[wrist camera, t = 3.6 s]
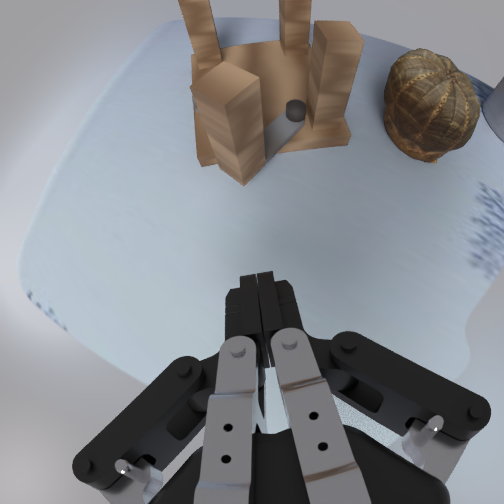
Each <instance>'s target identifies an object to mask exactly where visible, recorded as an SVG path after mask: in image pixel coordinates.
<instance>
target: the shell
mask: <svg viewBox="0 0 504 504" xmlns="http://www.w3.org/2000/svg"><path fill="white" fill-rule="evenodd" d="M384 101H385V104H386V107H385V113H384V123H385V127H386V130H387V133H388V135H389V136H390V138H391V139H392V140H393V142H394V143H395V144H396V146H397V147H398V148H399V149H400V150H401V151H403V152H404V153H405V154H407V155H408V156H410V157H411V158H413V159H417V160H421V161H424V162H428V163H436V162H437V159H438V158H440V157H442V156H443V155H444V154H445V153H447V152H448V151H451V150H455V149H459V148H461V147H463V146H464V145H465V144H466V143H467V142H468V140H469V139H470V138H471V136H472V134H473V132H474V129H475V127H476V124H477V121H478V119H479V116H480V105H479V101H478V99H477V97H476V94H475V90H474V87H473V85H472V82H471V80H470V79H469V77H468V76H467V75H466V74H464V73H462V72H461V71H459V70H458V69H457V67H456V66H455V65H454V63H453V62H452V61H451V60H450V59H449V58H448V57H445V56H442V55H438V54H434V53H433V52H431V51H429V50H426V49H420V48H419V49H416V50H412V51H409V52H407V53H406V54H404V55H402V56H401V57H399V59H398V60H397V61H396V62H395V63H394V64H393V66H392V67H391V70H390V73H389V76H388V80H387V83H386V87H385V90H384Z"/></svg>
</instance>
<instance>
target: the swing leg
mask: <svg viewBox="0 0 504 504" xmlns="http://www.w3.org/2000/svg"><path fill="white" fill-rule="evenodd" d="M190 89H191V92H192V94H193V97H194V100H195V103H196V105H197V108H198V111H199V113H200V116H201V119H202V122H203V124H204V127H205V130H206V132H207V135H208V138H209V140H210V143H211V146H212V149H213V151H214V154H215V157H216V159H217V162H218V165H219V168H220V169H221V170H223V171H224V172H225V173H227V174H228V175H229V176H231V177H232V178H233V179H235V180H236V181H237V182H239V183H240V184H241V185H243V186H245V185H246V184H247V183H248V182H249V181H250V180H251V179H252V178H253V177H254V176H255V175H256V174H257V173H258V172H259V171H260V170H261V168H262V167H263V166H264V165H265V164H266V163H267V162H268V161H269V160H270V159H271V158H272V157H273V156H274V155H275V154H276V153H277V152H278V151H279V150H280V149H281V148H282V147H283V146H284V145H285V144H286V143H287V142H288V141H289V140H290V139H291V138H292V137H293V136H294V135H295V134H296V133H297V132H298V131H299V130H300V129H301V128H302V127H304V126H305V115H306V104H305V103H304V102H303V101H301V100H297V99H293V100H290V101H288V102H287V104H286V110H285V111H284V112H283V113H282V114H281V115H279V116H278V117H277V118H276V119H275V120H274V121H273V122H272V123H271V124H270V125H268V126H267V127H266V128H265V129H264V130H263V117H262V104H261V92H260V79H259V77H258V76H256V75H253V74H251V73H249V72H247V71H245V70H243V69H241V68H239V67H236V66H234V65H232V64H230V63H227V62H225V61H223V62H222V63H220V64H219V65H217V66H216V67H215V68H213V69H212V70H211V71H209V72H208V73H207V74H205V75H204V76H203V77H201V78H200V79H199V80H197V81H196V82H195V83H194V84H192V85H191V86H190Z"/></svg>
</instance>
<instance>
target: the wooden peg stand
mask: <svg viewBox="0 0 504 504" xmlns="http://www.w3.org/2000/svg"><path fill="white" fill-rule="evenodd" d="M178 2H179V5H180V8H181V11H182V15H183V18H184V21H185V24H186V28H187V31H188V34H189V37H190V40H191V44H192V47H193V50H194V53H195V54H192V55H191V63H192V84H194V83H195V82H196V81H197V80H199V79H200V78H201V77H203V76H204V75H205V74H207V73H208V72H209V71H211V70H212V69H213V68H215V67H216V66H217V65H219V64H220V63H222V62H223V61H225V62H227V63H230V64H232V65H234V66H236V67H239V68H241V69H243V70H245V71H247V72H249V73H251V74H253V75H256V76H258V77H259V79H260V92H261V104H262V117H263V130H264V129H265V128H266V127H267V126H268V125H270V124H271V123H272V122H273V121H274V120H275V119H276V118H277V117H278V116H279V115H281V114H282V113H283V112H284V111H285V110H286V104H287V102H288V101H290V100H293V99H297V100H301V101H303V102H304V103H305V104H306V115H305V126H304V127H302V128H301V129H300V130H299V131H298V132H297V133H296V134H295V135H294V136H293V137H292V138H291V139H290V140H289V141H288V142H287V143H286V144H285V145H284V146H283V147H282V148H281V149H280V150H279V151H278V152H277V153H284V152H291V151H299V150H307V149H315V148H324V147H334V146H345V145H348V142H349V140H350V137H351V133H350V131H349V128H348V126H347V123H346V121H345V118H344V112H345V109H346V106H347V102H348V99H349V95H350V92H351V89H352V85H353V82H354V78H355V74H356V71H357V67H358V64H359V60H360V56H361V52H362V49H363V45H364V40H363V38H362V37H361V36H360V34H359V33H358V32H357V30H356V29H355V28H354V27H353V25H352V24H351V23H350V22H348V21H347V22H346V21H315V22H314V33H313V43H312V48H311V46H310V44H309V30H310V15H311V0H279V20H280V40H278V41H268V42H259V43H251V44H244V45H237V46H231V47H225V48H220V47H219V42H218V38H217V33H216V29H215V24H214V19H213V16H212V10H211V6H210V2H209V0H178ZM192 97H193V96H192ZM193 105H194V121H195V135H196V149H197V158H198V160H199V162H200V164H201V166H202V167H204V166H209V165H214V164H218V162H217V159H216V157H215V154H214V151H213V149H212V146H211V143H210V140H209V138H208V135H207V132H206V130H205V127H204V124H203V122H202V119H201V116H200V113H199V111H198V108H197V105H196V103H195V100H194V97H193ZM277 153H276V154H277Z"/></svg>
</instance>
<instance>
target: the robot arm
mask: <svg viewBox="0 0 504 504" xmlns="http://www.w3.org/2000/svg"><path fill="white" fill-rule="evenodd" d="M482 108H483V112H484V115H485V118H486V120H487V122H488V123H489V125H490V126H491V128H492V129H493V131H494V132H495V133H496V134H497V135H498V137H500V138H501V140H503V141H504V77H503V79H502V80H501V81H500V83H499V84H498V85H497V86H496V88H495V89H494V90H493V91H492V93H491V94H490V95H489V96H488V98H487V99H486V100H485V102H484V103H483V107H482ZM257 280H258V283H257ZM225 306H226V308H225V314H226V315H225V342H224V343H223V344H222V346H221V348H220V351H219V352H218V353H217V354H215V355H214V356H211V357H209V358H207V359H204V360H201V361H199V360H198V359H196V358H194V357H191V356H184V357H180V358H178V359H176V360H174V361H173V362H172V363H171V364H170V365H169V366H168V367H167V368H166V369H165V370H164V371H163V372H162V373H161V374H160V375H159V376H158V377H157V378H156V379H155V380H154V381H153V382H152V383H151V384H150V385H149V386H148V387H147V388H146V389H145V390H144V391H143V392H142V393H141V394H140V395H139V396H138V397H136V398H135V399H134V400H133V401H132V402H131V403H130V404H129V405H128V406H127V407H126V408H125V409H124V410H123V411H122V412H121V413H120V414H119V415H118V416H117V417H116V418H115V419H114V420H113V421H112V422H111V423H110V424H108V425H107V426H106V427H105V428H104V429H103V430H102V431H101V432H100V433H99V434H98V435H97V436H96V437H95V438H94V439H93V440H92V441H91V442H90V443H89V444H87V445H86V446H85V447H84V448H83V449H82V450H81V451H80V452H79V453H78V454H77V455H76V456H75V458H74V460H73V464H72V469H73V473H74V475H75V476H76V478H77V479H78V480H80V481H81V482H83V483H86V484H88V485H90V486H92V487H93V488H95V489H97V490H99V491H100V492H101V493H102V494H103V496H104V497H105V498H106V499H107V500H108V501H109V502H110V504H450V495H449V492H448V489H447V487H446V486H445V483H446V481H447V480H448V478H449V476H450V475H451V473H452V471H453V470H454V468H455V466H456V464H457V463H458V461H459V459H460V457H461V455H462V454H463V452H464V450H465V448H466V446H467V444H468V442H469V440H470V439H471V438H472V437H473V436H475V435H476V434H477V433H478V432H479V431H480V430H482V428H484V427H485V426H486V425H487V424H488V422H489V420H490V417H491V408H490V405H489V403H488V401H487V400H486V399H485V398H484V397H482V396H480V395H478V394H476V393H474V392H472V391H470V390H468V389H466V388H464V387H462V386H459V385H457V384H456V383H454V382H452V381H450V380H448V379H446V378H444V377H442V376H440V375H438V374H436V373H434V372H432V371H430V370H428V369H426V368H424V367H422V366H420V365H418V364H416V363H414V362H412V361H410V360H408V359H406V358H404V357H402V356H400V355H399V354H397V353H395V352H393V351H391V350H389V349H387V348H385V347H383V346H381V345H379V344H377V343H376V342H374V341H372V340H370V339H368V338H366V337H364V336H362V335H360V334H358V333H356V332H351V331H346V332H341V333H339V334H337V335H336V336H334V337H333V339H332V340H324V339H317V338H314V337H311V336H310V335H308V334H307V333H306V332H305V330H304V328H303V325H302V321H301V317H300V314H299V310H298V306H297V303H296V298H295V295H294V291H293V287H292V286H291V285H290V284H289V283H288V282H287V281H286V280H282V281H276V282H275V281H274V276H273V271H269V272H263V273H257V278H256V274H252V275H246V276H240V288H235V289H230V291H229V292H228V294H227V296H226V302H225ZM268 354H269V357H268ZM269 358H270V363H271V367H275V368H276V373H277V379H278V384H279V388H280V392H281V396H282V400H283V405H284V409H285V413H286V417H287V422H288V426H289V429H286V430H284V431H281V432H279V433H276V434H268V431H267V424H266V383H265V380H266V377H265V368H270V365H269ZM331 393H332V394H333V395H335V396H336V397H338V398H339V399H341V400H343V401H344V402H346V403H347V404H349V405H350V406H352V407H354V408H355V409H357V410H358V411H360V412H362V413H363V414H365V415H366V416H368V417H370V418H371V419H373V420H375V421H376V422H378V423H380V424H381V425H383V426H385V427H386V428H388V429H390V430H392V431H393V432H395V433H397V434H398V435H400V436H402V437H403V438H402V449H403V451H404V452H405V454H407V455H408V456H409V457H410V458H411V459H412V460H413V462H414V464H412V463H410V462H409V461H407V460H406V459H404V458H403V457H401V456H399V455H398V454H396V453H395V452H393V451H391V450H390V449H388V448H387V447H385V446H384V445H382V444H381V443H379V442H378V441H376V440H374V439H373V438H371V437H370V436H369V435H367V434H366V433H364V432H362V431H361V430H359V429H357V428H354V427H351V426H348V425H344V424H342V422H341V419H340V416H339V413H338V410H337V408H336V405H335V402H334V399H333V396H332V394H331ZM204 426H205V434H204V442H203V446H202V447H200V448H199V449H197V450H196V451H195V452H194V453H193V454H192V455H191V456H190V457H189V458H188V459H187V461H186V462H185V463H184V464H183V465H182V466H181V467H180V469H179V470H178V471H177V472H176V473H175V474H174V475H173V477H172V478H171V479H170V480H169V481H168V482H167V483H166V484H165V486H163V488H162V489H161V487H162V485H163V475H162V471H163V470H164V469H165V468H166V467H167V466H168V465H169V463H171V462H172V461H173V460H174V458H175V457H176V456H177V455H178V454H179V453H180V452H181V451H182V450H183V449H184V448H185V447H186V446H187V445H188V444H189V442H190V441H191V440H192V439H193V438H194V437H195V436H196V435H197V434H198V432H199V431H200V430H201V429H202V428H203V427H204ZM160 489H161V490H160ZM159 490H160V491H159ZM158 491H159V492H158Z"/></svg>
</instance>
